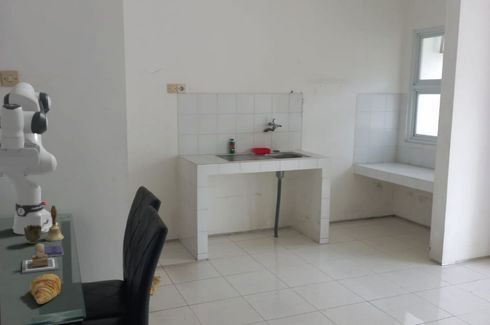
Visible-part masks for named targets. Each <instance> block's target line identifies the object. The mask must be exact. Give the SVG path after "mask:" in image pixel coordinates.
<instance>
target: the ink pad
mask: <svg viewBox="0 0 490 325" xmlns="http://www.w3.org/2000/svg"><path fill="white" fill-rule="evenodd" d="M45 254H47V257H48V258H53V257H60V256H65V253H64V248H63V246H62V245H57V246H55V245H53V246H44V255H45Z"/></svg>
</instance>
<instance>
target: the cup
mask: <svg viewBox="0 0 490 325" xmlns="http://www.w3.org/2000/svg"><path fill="white" fill-rule="evenodd" d="M41 230H42V227H41V226H40V225H39V226H38V225H36V226H35V225H34V226H32V225H30V226H27V228H25V227H24V232H25V234H24V237H25V240H26V241H28V244H29V245H32V246H33V244H34V245H37V244H38V241H39V240H40V239H41V236H42V233H41Z"/></svg>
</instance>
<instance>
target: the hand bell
mask: <svg viewBox="0 0 490 325" xmlns="http://www.w3.org/2000/svg"><path fill="white" fill-rule="evenodd" d="M50 213H51V217H52V226H51V227H50V228H49V231H48V232H47V235H46V236H45V238H44V240H45V241H48V242H57V241H62V240H63V239H65V236H64V235H63V234H62V233H61V230H60V227H59V226H58V225H57V226H56V222H57V221H56V219H57V208H56V205H51V208H50Z"/></svg>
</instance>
